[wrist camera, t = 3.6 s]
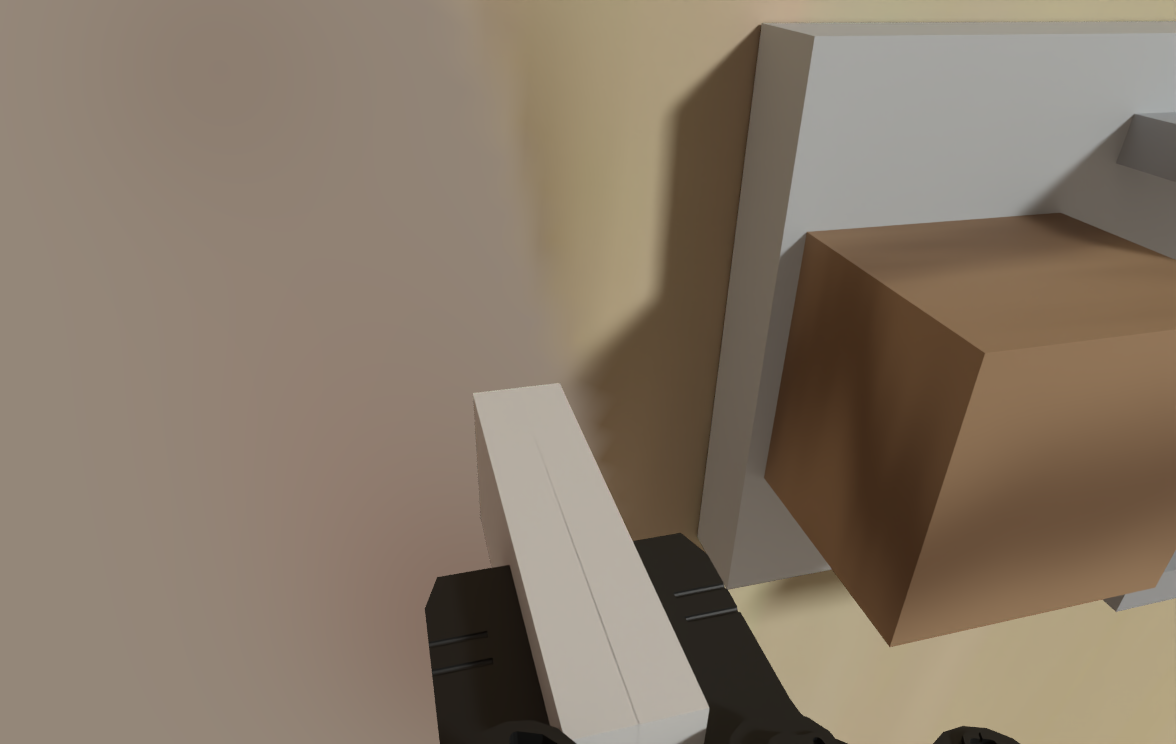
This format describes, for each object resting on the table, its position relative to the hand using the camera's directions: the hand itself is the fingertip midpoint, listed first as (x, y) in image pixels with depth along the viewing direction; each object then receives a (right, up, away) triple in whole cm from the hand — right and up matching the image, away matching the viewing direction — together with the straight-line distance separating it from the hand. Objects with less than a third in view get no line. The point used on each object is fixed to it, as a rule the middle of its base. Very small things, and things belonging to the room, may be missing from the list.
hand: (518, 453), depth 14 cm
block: (+8, +2, +4) cm, 9 cm away
